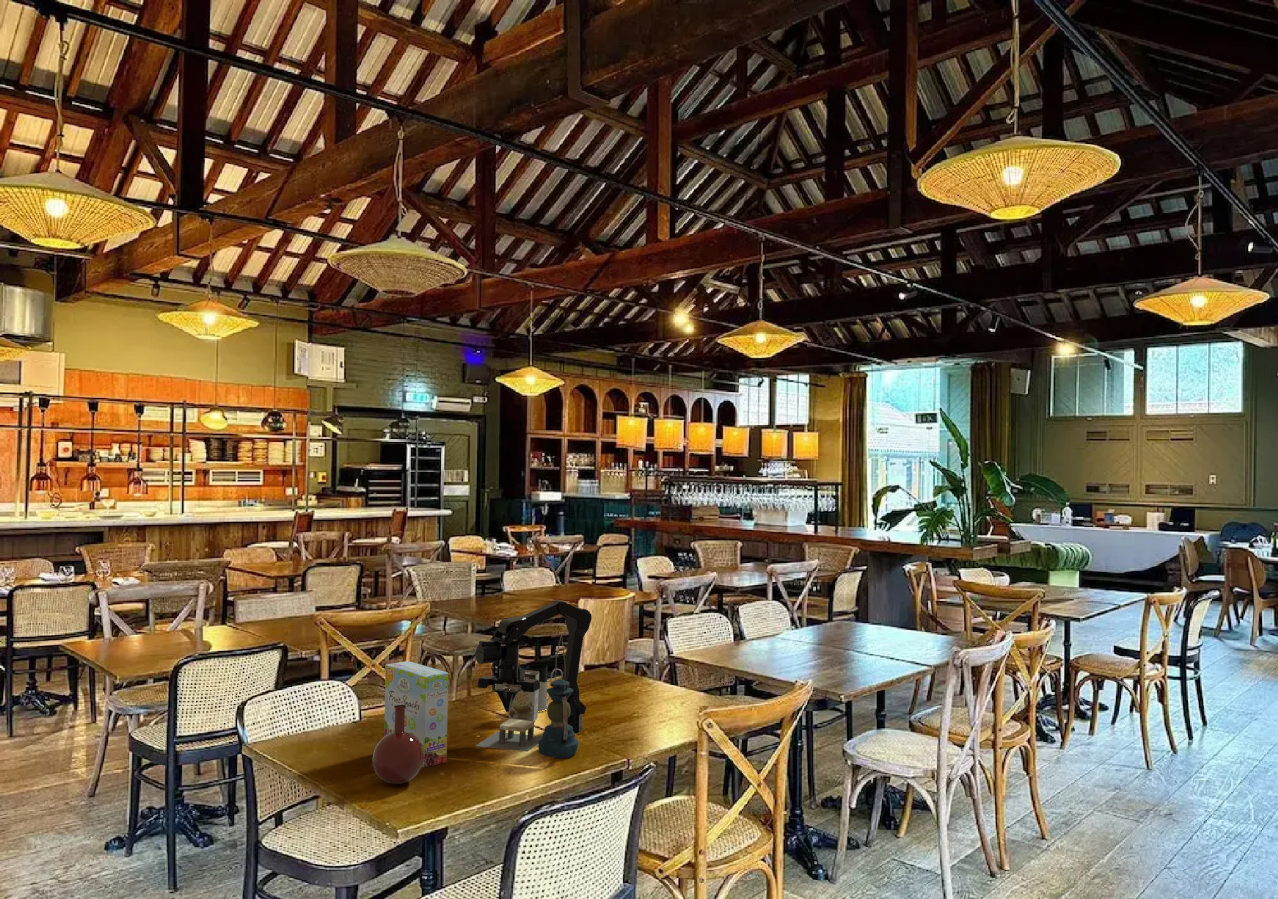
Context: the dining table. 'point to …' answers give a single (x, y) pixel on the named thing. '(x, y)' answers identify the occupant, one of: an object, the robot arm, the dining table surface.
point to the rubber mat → (509, 742)
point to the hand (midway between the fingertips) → (507, 712)
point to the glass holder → (542, 684)
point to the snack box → (419, 706)
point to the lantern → (558, 721)
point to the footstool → (516, 726)
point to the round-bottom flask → (398, 753)
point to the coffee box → (525, 701)
